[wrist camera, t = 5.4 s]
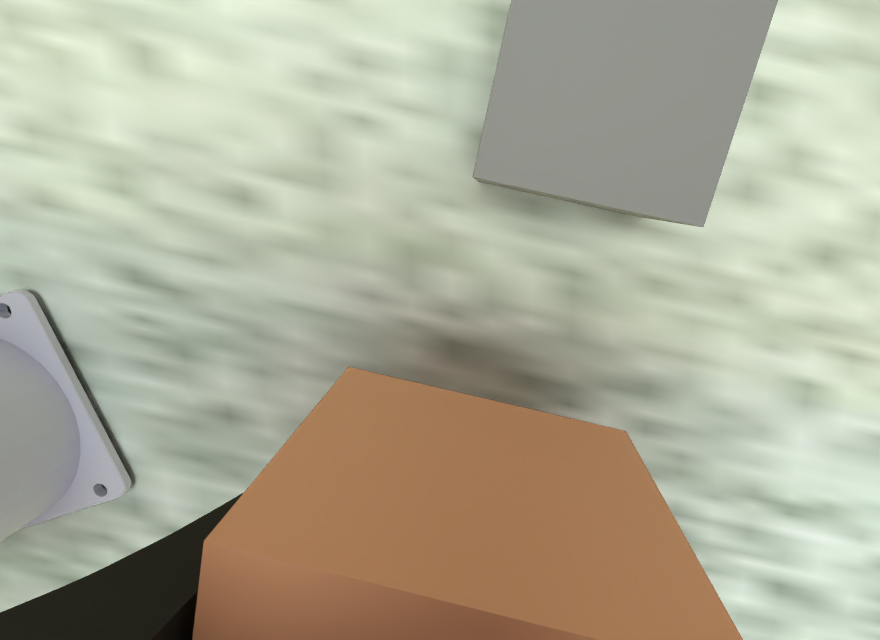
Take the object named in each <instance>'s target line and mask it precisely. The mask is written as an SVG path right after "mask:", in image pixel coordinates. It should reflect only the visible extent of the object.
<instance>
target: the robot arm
mask: <svg viewBox="0 0 880 640" xmlns="http://www.w3.org/2000/svg"><path fill="white" fill-rule="evenodd" d="M7 305H8V306H9V307H10V309H11V314H10V313H9V312H8V310H7ZM101 484H102V485H104V486H105V487H106V488H107V490H105V489H104V488H103V487H102V485H101ZM130 488H131V480H130V477H129V475H128V473H127V471H126V469H125V468H124V466H123V464H122V462H121V460H120V458H119V456H118V454H117V452H116V450H115V448H114V447H113V445H112V443H111V441H110V439H109V437H108V435H107V433H106V431H105V429H104V427H103V426H102V424H101V422H100V420H99V418H98V416H97V414H96V412H95V410H94V408H93V406H92V405H91V403H90V401H89V399H88V397H87V395H86V393H85V391H84V389H83V387H82V385H81V384H80V382H79V380H78V378H77V376H76V374H75V372H74V370H73V368H72V366H71V364H70V362H69V361H68V359H67V357H66V355H65V353H64V351H63V349H62V347H61V345H60V343H59V341H58V340H57V338H56V336H55V334H54V332H53V330H52V328H51V326H50V324H49V322H48V320H47V319H46V317H45V315H44V313H43V311H42V309H41V307H40V305H39V303H38V301H37V299H36V298H35V297H34V295H33V294H31V293H30V292H29V291H26V290H17V291H12V292H9V293H6V294H4V295H1V296H0V542H1V541H3V540H4V539H6V538H7V537H8V536H10V535H11V534H13V533H14V532H16V531H17V530H20V529H23V528H26V527H29V526H32V525H36V524H39V523H42V522H45V521H48V520H51V519H54V518H57V517H60V516H63V515H67V514H70V513H73V512H76V511H79V510H82V509H85V508H88V507H91V506H95V505H98V504H101V503H104V502H107V501H110V500H113V499H116V498H119V497H121V496H123V495H124V494H125V493H126V492H128V491H129V489H130ZM242 495H243V493H242V494H240V495H239V496H237V497H235V498H234V499H232V500H230V501H228V502H227V503H225V504H223V505H222V506H220V507H218V508H216V509H215V510H213V511H211V512H210V513H208V514H206V515H204V516H203V517H201V518H199V519H197V520H195V521H194V522H192V523H190V524H188V525H186V526H185V527H183V528H181V529H179V530H178V531H176V532H174V533H172V534H170V535H169V536H167V537H165V538H163V539H161V540H159V541H157V542H155V543H153V544H151V545H149V546H147V547H145V548H143V549H141V550H139V551H137V552H135V553H133V554H131V555H129V556H127V557H125V558H123V559H121V560H119V561H117V562H115V563H113V564H111V565H109V566H107V567H105V568H103V569H101V570H99V571H97V572H95V573H92V574H90V575H88V576H86V577H84V578H81V579H79V580H77V581H75V582H72V583H70V584H68V585H66V586H63V587H61V588H59V589H57V590H54V591H52V592H49V593H47V594H44V595H42V596H40V597H37V598H35V599H32V600H30V601H28V602H25V603H23V604H20V605H18V606H15V607H13V608H11V609H8V610H6V611H3V612H1V613H0V640H192V638H193V629H194V621H195V612H196V604H197V595H198V586H199V578H200V569H201V561H202V552H203V544H204V540H205V539H206V538H207V537H208V535H209V534H210V533H211V532H212V531H213V529H214V528H215V527H216V526H217V525H218V523H219V522H220V521H221V520H222V519H223V517H224V516H225V515H226V514H227V513H228V511H229V510H230V509H231V508H232V507H233V505H234V504H235V503H236V502H237V501H238V499H239V498H240V497H241V496H242Z"/></svg>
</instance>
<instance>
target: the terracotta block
mask: <svg viewBox="0 0 880 640" xmlns="http://www.w3.org/2000/svg"><path fill="white" fill-rule="evenodd" d="M192 640H743V639H742V637H741V635H740V634H739V632H738V630H737V628H736V626H735V625H734V623H733V621H732V619H731V618H730V616H729V614H728V612H727V610H726V609H725V607H724V605H723V603H722V602H721V600H720V598H719V596H718V594H717V593H716V591H715V589H714V587H713V585H712V584H711V582H710V580H709V578H708V577H707V575H706V573H705V571H704V569H703V568H702V566H701V564H700V562H699V561H698V559H697V557H696V555H695V553H694V552H693V550H692V548H691V546H690V545H689V543H688V541H687V539H686V537H685V536H684V534H683V532H682V530H681V529H680V527H679V525H678V523H677V521H676V520H675V518H674V516H673V514H672V512H671V511H670V509H669V507H668V505H667V504H666V502H665V500H664V498H663V496H662V495H661V493H660V491H659V489H658V488H657V486H656V484H655V482H654V480H653V479H652V477H651V475H650V473H649V472H648V470H647V468H646V466H645V464H644V463H643V461H642V459H641V457H640V456H639V454H638V452H637V450H636V448H635V447H634V445H633V443H632V441H631V439H630V438H629V436H628V434H627V432H626V431H623V430H619V429H614V428H610V427H606V426H601V425H597V424H593V423H588V422H584V421H580V420H575V419H571V418H567V417H563V416H558V415H554V414H550V413H545V412H541V411H537V410H532V409H528V408H524V407H520V406H515V405H511V404H507V403H502V402H498V401H494V400H489V399H485V398H481V397H476V396H472V395H468V394H464V393H459V392H455V391H451V390H446V389H442V388H438V387H433V386H429V385H425V384H420V383H416V382H412V381H408V380H403V379H399V378H395V377H390V376H386V375H382V374H377V373H373V372H369V371H365V370H360V369H356V368H352V367H348V368H347V369H346V371H345V372H344V373H343V374H342V376H341V377H340V378H339V379H338V380H337V382H336V383H335V384H334V385H333V386H332V388H331V389H330V390H329V391H328V392H327V394H326V395H325V396H324V397H323V398H322V400H321V401H320V402H319V403H318V404H317V406H316V407H315V408H314V409H313V410H312V412H311V413H310V414H309V415H308V416H307V418H306V419H305V420H304V421H303V422H302V424H301V425H300V426H299V427H298V428H297V430H296V431H295V432H294V433H293V434H292V436H291V437H290V438H289V439H288V440H287V442H286V443H285V444H284V445H283V446H282V448H281V449H280V450H279V451H278V452H277V454H276V455H275V456H274V457H273V458H272V460H271V461H270V462H269V463H268V464H267V466H266V467H265V468H264V469H263V470H262V472H261V473H260V474H259V475H258V476H257V478H256V479H255V480H254V481H253V482H252V484H251V485H250V486H249V487H248V489H247V490H246V491H245V492H244V493H243V495H242V496H241V497H240V498H239V499H238V501H237V502H236V503H235V504H234V505H233V507H232V508H231V509H230V510H229V511H228V513H227V514H226V515H225V516H224V517H223V519H222V520H221V521H220V522H219V523H218V525H217V526H216V527H215V528H214V529H213V531H212V532H211V533H210V534H209V535H208V537H207V538H206V539H205V540H204V544H203V552H202V561H201V569H200V578H199V586H198V595H197V604H196V612H195V621H194V629H193V638H192Z"/></svg>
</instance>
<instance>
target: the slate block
mask: <svg viewBox="0 0 880 640" xmlns="http://www.w3.org/2000/svg"><path fill="white" fill-rule="evenodd" d="M777 2H778V0H511V5H510V9H509V14H508V18H507V23H506V27H505V32H504V36H503V41H502V46H501V50H500V55H499V59H498V64H497V68H496V73H495V77H494V82H493V87H492V91H491V96H490V100H489V105H488V109H487V114H486V118H485V123H484V127H483V132H482V137H481V141H480V146H479V150H478V155H477V159H476V164H475V168H474V173H473V178H475V179H476V180H477V181H479V182H483V183H487V184H492V185H496V186H501V187H506V188H510V189H515V190H519V191H524V192H528V193H533V194H538V195H542V196H547V197H551V198H556V199H561V200H565V201H570V202H574V203H579V204H583V205H588V206H593V207H597V208H602V209H606V210H611V211H615V212H620V213H625V214H629V215H634V216H638V217H643V218H649V219H656V220H662V221H668V222H674V223H680V224H686V225H693V226H699V227H703V226H704V223H705V220H706V217H707V214H708V211H709V208H710V205H711V202H712V199H713V196H714V193H715V190H716V187H717V184H718V181H719V178H720V175H721V172H722V169H723V166H724V163H725V160H726V157H727V154H728V151H729V147H730V144H731V141H732V138H733V135H734V132H735V129H736V126H737V123H738V120H739V117H740V114H741V111H742V108H743V105H744V102H745V99H746V96H747V93H748V90H749V87H750V84H751V81H752V78H753V75H754V72H755V68H756V65H757V62H758V59H759V56H760V53H761V50H762V47H763V44H764V41H765V38H766V35H767V32H768V29H769V26H770V23H771V20H772V17H773V14H774V11H775V8H776V5H777Z"/></svg>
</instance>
